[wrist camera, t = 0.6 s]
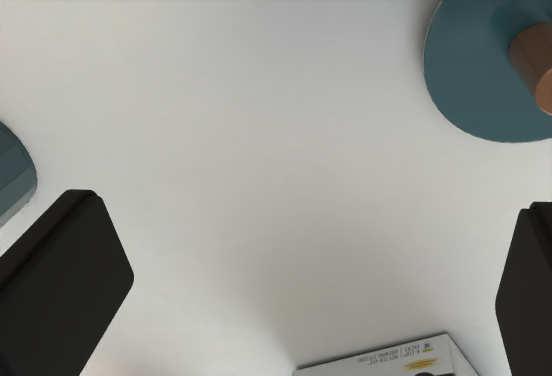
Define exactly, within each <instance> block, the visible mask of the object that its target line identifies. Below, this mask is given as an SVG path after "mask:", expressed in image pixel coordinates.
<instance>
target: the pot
mask: <svg viewBox="0 0 552 376" xmlns="http://www.w3.org/2000/svg"><path fill="white" fill-rule="evenodd" d="M36 185H37V177H36V171H35V168H34V165H33V162H32V160H31V158H30V156H29V154H28V152H27V151H26V149H25V148H24V146H23V145H22V144H21V142H20V141H19V140H18V139H17V137H16V136H15V135H14V134H13V133H12V132H11V131H10V130H9V129H8V128H7V127H5V126H4V125H3V124H2V123H1V122H0V228H1V227H2V226H3V225H4V224H5V223H6V222H8V221H9V220H10V219H11V218H12V217H13V216H14V215H15V214H16V213H17V212H18V211H19V210H20V209H21V208H22V207H23V206H25V205H26V204H27V203H28V202H29V201H30V199H31V197H32V196H33V195H34V192H35V190H36Z"/></svg>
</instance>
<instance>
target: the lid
mask: <svg viewBox="0 0 552 376" xmlns="http://www.w3.org/2000/svg"><path fill="white" fill-rule="evenodd" d="M422 64H423V73H424V78H425V82H426V86H427V89H428V92H429V94H430V96H431V98H432V101H433V102H434V104H435V105H436V107H437V108H438V110H439V111H440V112H441V113H442V114H443V116H444V117H445V118H446V119H447V120H449V121H450V122H451V123H452V124H453V125H455V126H456V127H458V128H459V129H461V130H463V131H464V132H466V133H469V134H471V135H473V136H475V137H479V138H482V139H485V140H489V141H495V142H501V143H528V142H535V141H541V140H545V139H550V138H552V0H440V2H439V3H438V5H437V7H436V8H435V11H434V13H433V15H432V17H431V20H430V22H429V25H428V28H427V31H426V35H425V39H424V45H423V58H422Z"/></svg>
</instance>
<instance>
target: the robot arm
mask: <svg viewBox="0 0 552 376" xmlns="http://www.w3.org/2000/svg"><path fill="white" fill-rule="evenodd" d="M133 282H134V274H133V271H132V268H131V266H130V263H129V261H128V259H127V256H126V254H125V252H124V249H123V247H122V244H121V242H120V240H119V237H118V235H117V232H116V230H115V228H114V225H113V223H112V221H111V218H110V216H109V213H108V211H107V209H106V206H105V204H104V202H103V200H102V198H101V197H99V196H97V194H96V193H95V192H94V191H92V190H74V189H70V190H67V191H65V192H64V193H63V194H62V195H61V196H60V197H59V198H58V199H57V200H56V201H55V202H54V203H53V204H52V205H51V206H50V207H49V208H48V209H47V210H46V211H45V212H44V213H43V214H42V215H41V216H40V217H39V218H38V219H37V220H36V221H35V222H34V223H33V225H32V226H31V227H30V228H29V229H28V230H27V231H26V232H25V233H24V234H23V235H22V236H21V237H20V238H19V239H18V240H17V241H16V242H15V243H14V244H13V245H12V246H11V247H10V248H9V249H8V250H7V251H6V252H5V253H4V254H3V255H2V256H1V257H0V376H79V375H80V373H81V372H82V370H83V368H84V366H85V365H86V363H87V361H88V360H89V358H90V356H91V355H92V353H93V351H94V350H95V348H96V346H97V345H98V343H99V341H100V340H101V338H102V336H103V335H104V333H105V331H106V329H107V328H108V326H109V324H110V323H111V321H112V319H113V318H114V316H115V314H116V313H117V311H118V309H119V308H120V306H121V304H122V303H123V301H124V299H125V298H126V296H127V294H128V292H129V291H130V289H131V287H132V285H133ZM495 310H496V316H497V320H498V324H499V328H500V332H501V336H502V339H503V343H504V347H505V351H506V355H507V358H508V362H509V366H510V370H511V374H512V376H552V202H533V203H532V204H531V205H530V208H529V209H521V210H520V212H519V215H518V219H517V223H516V226H515V230H514V234H513V237H512V241H511V245H510V248H509V252H508V256H507V259H506V263H505V267H504V271H503V274H502V278H501V282H500V285H499V289H498V293H497V296H496V302H495Z"/></svg>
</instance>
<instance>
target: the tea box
mask: <svg viewBox="0 0 552 376" xmlns="http://www.w3.org/2000/svg"><path fill="white" fill-rule="evenodd" d="M292 376H478V375H477V373H476V372H475V371H474V369H473V368H472V367H471V365H470V364H469V362H468V361H467V360H466V358H465V357H464V356H463V354H462V353H461V352H460V350H459V349H458V347H457V346H456V345H455V343H454V342H453V341H452V340H451V338H450V337H449V336H448V334H443V335H439V336H435V337H431V338H427V339H423V340H419V341H415V342H411V343H407V344H403V345H399V346H395V347H391V348H386V349H382V350H378V351H374V352H370V353H366V354H362V355H358V356H354V357H350V358H346V359H342V360H338V361H334V362H329V363H325V364H321V365H317V366H313V367H309V368H305V369H301V370H296V371H294V372H293V374H292Z"/></svg>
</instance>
